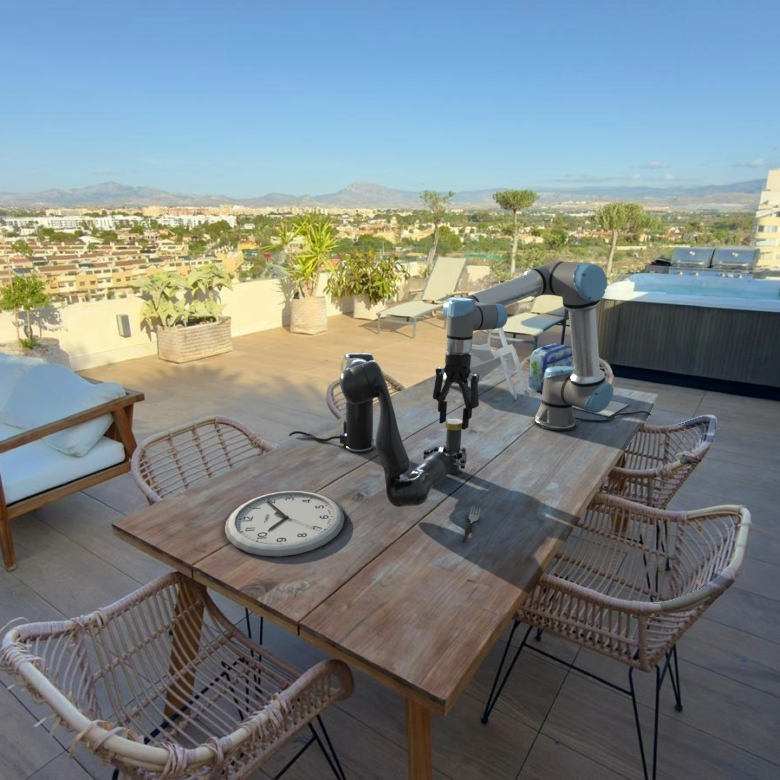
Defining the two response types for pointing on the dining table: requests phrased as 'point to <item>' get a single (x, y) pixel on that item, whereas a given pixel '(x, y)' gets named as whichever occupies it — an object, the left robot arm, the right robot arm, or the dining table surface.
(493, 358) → the white plastic object
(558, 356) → the lunch box
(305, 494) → the wall clock
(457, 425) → the lid
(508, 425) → the dining table surface
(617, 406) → the invitation card
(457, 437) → the dark grey cylinder
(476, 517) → the fork
